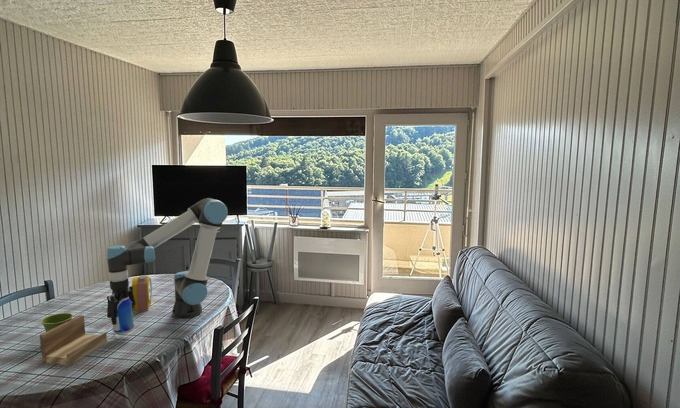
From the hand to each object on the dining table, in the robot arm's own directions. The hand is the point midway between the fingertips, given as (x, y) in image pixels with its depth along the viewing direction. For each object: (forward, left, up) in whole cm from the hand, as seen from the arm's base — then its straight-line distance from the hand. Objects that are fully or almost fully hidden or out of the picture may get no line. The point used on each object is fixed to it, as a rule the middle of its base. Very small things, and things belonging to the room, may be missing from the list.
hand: (123, 325), depth 178 cm
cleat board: (+11, +15, -6) cm, 20 cm away
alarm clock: (+15, -35, -6) cm, 38 cm away
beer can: (0, 0, -3) cm, 3 cm away
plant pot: (+26, +8, -6) cm, 28 cm away
